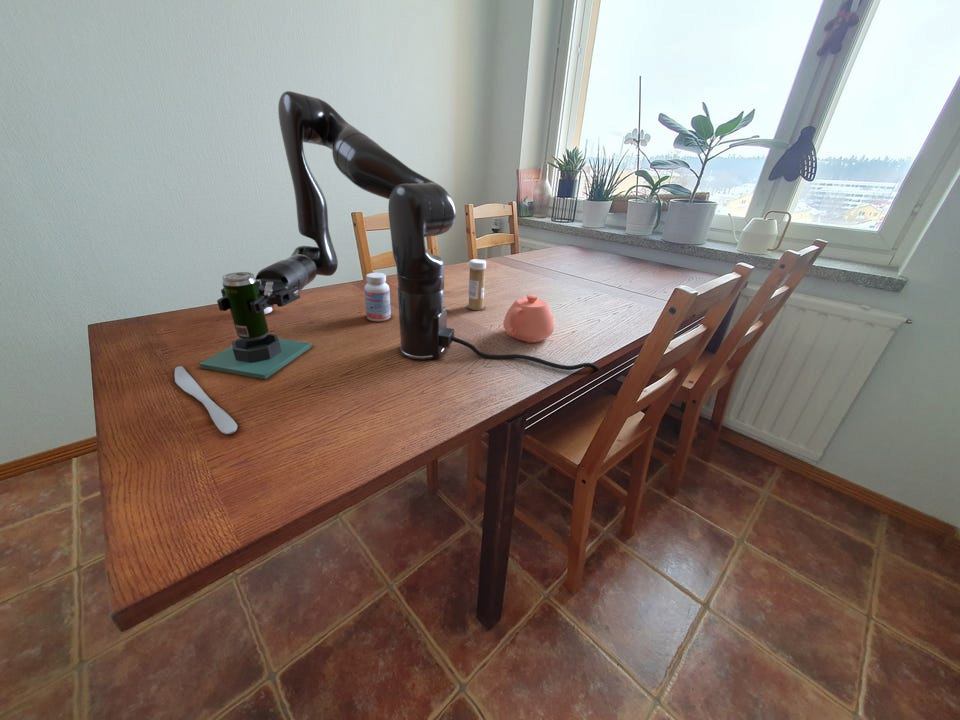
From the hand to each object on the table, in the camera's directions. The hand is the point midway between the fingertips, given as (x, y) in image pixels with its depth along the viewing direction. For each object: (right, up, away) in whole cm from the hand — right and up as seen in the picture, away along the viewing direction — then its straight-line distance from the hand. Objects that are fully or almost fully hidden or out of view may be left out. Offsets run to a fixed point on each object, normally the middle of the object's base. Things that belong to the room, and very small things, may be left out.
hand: (237, 307), depth 68 cm
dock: (0, -9, +8) cm, 12 cm away
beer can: (0, -5, +6) cm, 8 cm away
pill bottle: (+18, +1, +29) cm, 34 cm away
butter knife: (-2, -16, -6) cm, 17 cm away
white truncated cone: (-12, +2, +28) cm, 30 cm away
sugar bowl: (+55, -4, +24) cm, 60 cm away
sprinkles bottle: (+43, +5, +39) cm, 58 cm away
